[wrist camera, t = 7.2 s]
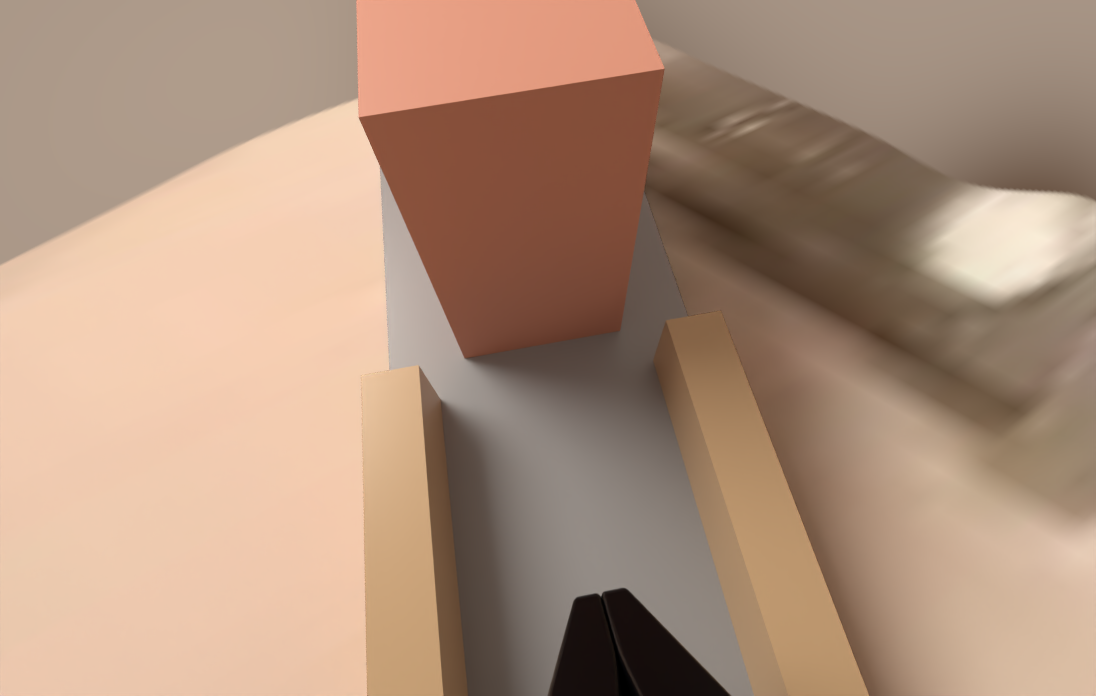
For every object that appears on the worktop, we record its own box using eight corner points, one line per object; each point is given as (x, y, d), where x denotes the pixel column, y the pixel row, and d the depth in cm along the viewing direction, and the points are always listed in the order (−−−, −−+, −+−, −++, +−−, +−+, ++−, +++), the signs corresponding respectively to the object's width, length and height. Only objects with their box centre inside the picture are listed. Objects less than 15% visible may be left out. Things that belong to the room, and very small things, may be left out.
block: (620, 330, 17) (664, 68, 8) (464, 358, 16) (359, 117, 8) (566, 133, 21) (561, -171, 12) (440, 154, 20) (353, -142, 12)
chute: (886, 914, 11) (994, 1020, 8) (428, 1020, 10) (376, 1169, 8) (604, 91, 22) (608, 19, 20) (382, 127, 22) (355, 58, 19)
